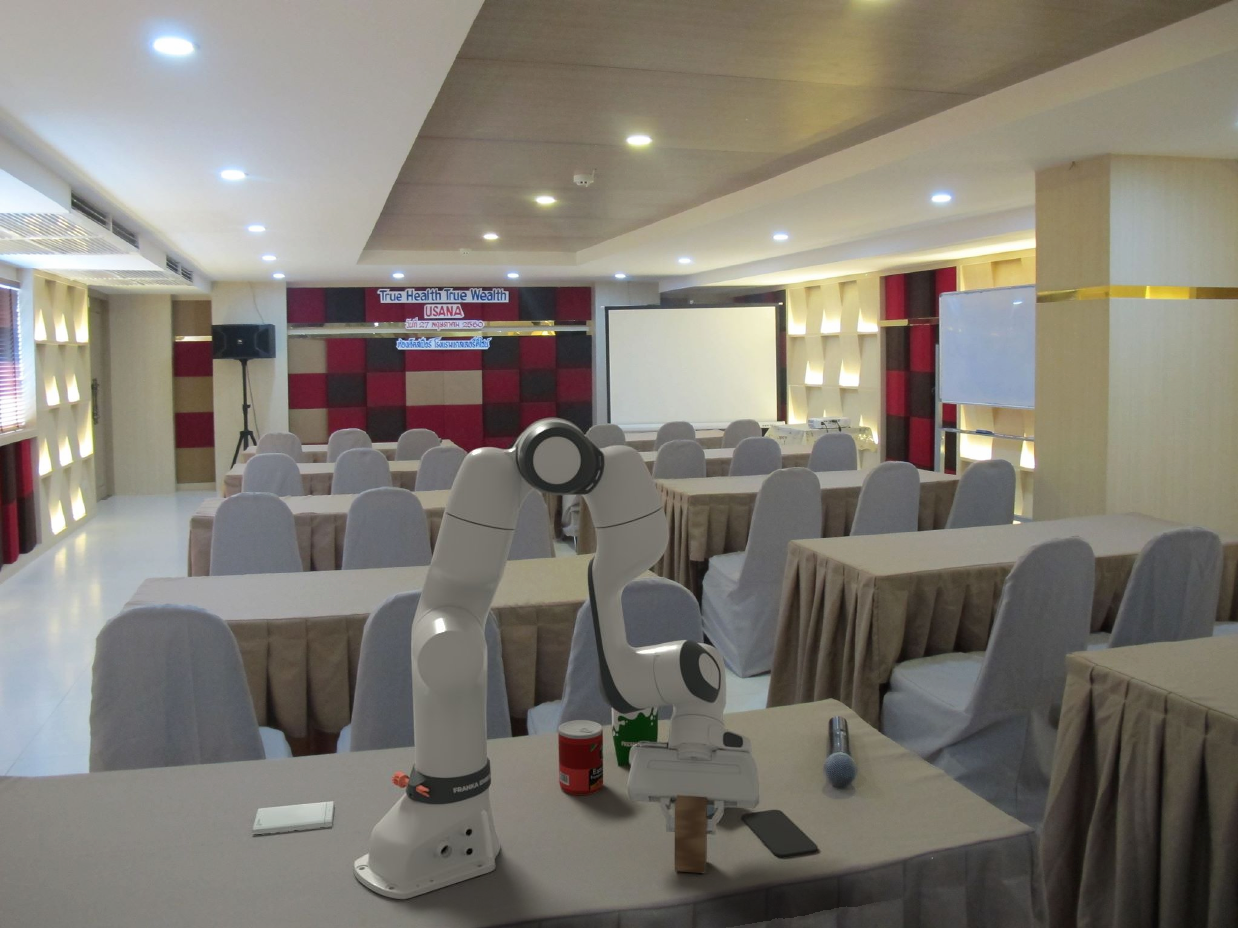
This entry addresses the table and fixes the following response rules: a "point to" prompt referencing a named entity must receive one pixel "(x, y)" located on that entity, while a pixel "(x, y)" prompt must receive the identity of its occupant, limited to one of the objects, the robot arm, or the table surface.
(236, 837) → the table surface
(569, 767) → the canned food
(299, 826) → the hard drive
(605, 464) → the robot arm
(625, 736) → the milk carton
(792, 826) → the phone
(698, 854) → the walnut post
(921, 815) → the table surface
